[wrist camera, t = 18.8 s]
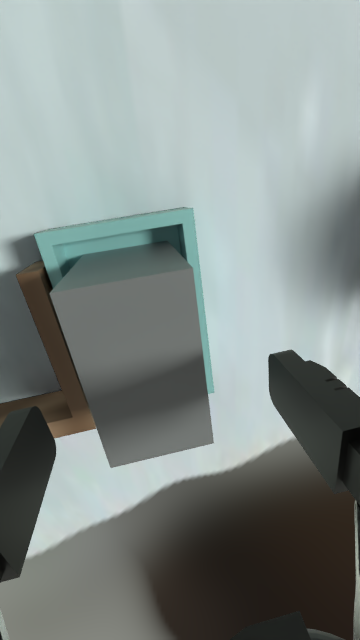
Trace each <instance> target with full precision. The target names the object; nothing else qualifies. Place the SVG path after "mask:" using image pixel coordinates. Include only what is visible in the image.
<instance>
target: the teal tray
mask: <svg viewBox="0 0 360 640" xmlns="http://www.w3.org/2000/svg"><path fill="white" fill-rule="evenodd" d="M34 236H35V239H36V242H37V244H38V247H39V250H40V253H41V256H42V259H43V262H44V264H45V267H46V270H47V273H48V276H49V279H50V281H51V284H52V287H53V289H54V288H55V286H56V285H57V284H58V283H59V282H60V281H61V280H62V278H63V277H64V276H65V275H66V274H67V273H68V272H69V271H70V269H71V268H72V267H73V266H74V265H75V264H76V263H77V262H78V260H79V259H80V258H81V257H82V256H83V255H84V254H89V253H95V252H101V251H107V250H113V249H119V248H125V247H131V246H138V245H144V244H150V243H156V242H162V241H168V242H169V243H170V244H171V245H172V246H173V247H174V248H175V249H176V251H177V252H178V253H179V254H180V255H181V256H182V257H183V258H184V259H185V260H186V261H187V262H188V263H189V264H190V265H191V266H192V267H193V272H194V280H195V289H196V297H197V306H198V314H199V323H200V331H201V340H202V348H203V357H204V365H205V374H206V382H207V391H208V394H210V393H214V386H213V377H212V369H211V360H210V351H209V342H208V334H207V325H206V316H205V308H204V299H203V290H202V282H201V273H200V264H199V255H198V247H197V238H196V229H195V221H194V212H193V208H186V207H182V208H176V209H170V210H164V211H158V212H151V213H145V214H139V215H133V216H127V217H121V218H115V219H108V220H102V221H96V222H90V223H84V224H78V225H72V226H65V227H59V228H53V229H48V230H45V231H42V232H39V233H36V234H34Z"/></svg>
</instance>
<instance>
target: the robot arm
mask: <svg viewBox="0 0 360 640" xmlns="http://www.w3.org/2000/svg"><path fill="white" fill-rule="evenodd" d="M268 362H269V392H270V396H271V400H272V402H273V404H274V406H275V408H276V409H277V411H278V412H279V414H280V415H281V416H282V418H283V419H284V421H285V422H286V424H287V425H288V427H289V428H290V430H291V431H292V433H293V434H294V435H295V437H296V438H297V440H298V441H299V443H300V444H301V446H302V447H303V449H304V450H305V452H306V453H307V455H308V456H309V457H310V459H311V460H312V462H313V463H314V465H315V466H316V468H317V469H318V471H319V472H320V473H321V475H322V476H323V478H324V479H325V481H326V482H327V484H328V485H329V487H330V488H331V489H332V491H333V493H334V494H336V493H340V492H344V491H347V490H349V491H350V492H351V494H352V496H353V497H354V498H355V547H356V596H355V607H354V640H360V397H359V396H358V395H356V394H355V393H354V392H353V391H352V390H351V389H350V388H347V387H346V385H345V384H344V383H343V382H342V381H340V380H339V379H337V377H336V376H335V375H334V374H332V373H331V372H330V371H329V370H328V369H327V368H326V367H324V366H321V365H319V364H317V363H315V362H313V361H311V360H310V361H304V360H303V359H302V358H301V357H300V356H299V355H298V354H297V353H295V352H294V351H293V350H287V351H283V352H278V353H274V354H270V355H269V360H268ZM55 457H56V444H55V440H54V437H53V435H52V433H51V431H50V429H49V427H48V425H47V423H46V421H45V419H44V417H43V414H42V412H41V410H40V409H39V408H38V407H37V406H33V407H29V408H24V409H20V410H15V411H11V412H10V413H9V414H8V415H7V417H6V418H5V420H4V422H3V424H2V425H1V427H0V582H3V581H7V580H11V579H14V578H18V577H20V574H21V571H22V567H23V564H24V560H25V557H26V554H27V551H28V547H29V544H30V541H31V537H32V534H33V531H34V527H35V524H36V521H37V517H38V514H39V511H40V507H41V504H42V501H43V497H44V494H45V491H46V487H47V484H48V481H49V477H50V474H51V471H52V467H53V464H54V461H55ZM0 640H10V639H9V636H8V633H7V630H6V626H5V623H4V620H3V616H2V613H1V610H0ZM230 640H344V639H341V638H339V637H336V636H334V635H332V634H329V633H326V632H322V631H318V630H313V629H306V626H305V624H304V621H303V619H302V616H301V614H300V611H298V612H294V613H291V614H288V615H285V616H281V617H278V618H275V619H271V620H268V621H264V622H261V623H258V624H254V625H251V626H248V627H245V628H244V629H243V630H242V631H240V632H239V633H238V634H236V635H235V636H234V637H233V638H232V639H230Z"/></svg>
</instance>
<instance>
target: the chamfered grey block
mask: <svg viewBox="0 0 360 640" xmlns="http://www.w3.org/2000/svg"><path fill="white" fill-rule="evenodd" d="M49 294H50V296H51V299H52V302H53V305H54V308H55V311H56V314H57V316H58V319H59V322H60V325H61V328H62V331H63V333H64V336H65V339H66V342H67V345H68V348H69V351H70V353H71V356H72V359H73V362H74V365H75V368H76V371H77V373H78V376H79V379H80V382H81V385H82V388H83V390H84V393H85V396H86V399H87V402H88V405H89V408H90V410H91V413H92V416H93V419H94V422H95V425H96V428H97V430H98V433H99V436H100V439H101V442H102V445H103V447H104V450H105V453H106V456H107V459H108V462H109V465H110V467H111V468H113V467H117V466H121V465H125V464H129V463H133V462H137V461H142V460H146V459H150V458H154V457H158V456H162V455H167V454H171V453H175V452H179V451H183V450H187V449H191V448H196V447H200V446H204V445H208V444H212V443H214V442H213V433H212V425H211V416H210V408H209V399H208V391H207V382H206V374H205V365H204V357H203V348H202V340H201V331H200V323H199V314H198V306H197V297H196V289H195V280H194V272H193V267H192V266H191V265H190V264H189V263H188V262H187V261H186V260H185V259H184V258H183V257H182V256H181V255H180V254H179V253H178V252H177V251H176V249H175V248H174V247H173V246H172V245H171V244H170V243H169V242H168V241H162V242H156V243H150V244H144V245H138V246H131V247H125V248H119V249H113V250H107V251H101V252H95V253H89V254H84V255H83V256H82V257H81V258H80V259H79V260H78V262H77V263H76V264H75V265H74V266H73V267H72V268H71V269H70V271H69V272H68V273H67V274H66V275H65V276H64V277H63V278H62V280H61V281H60V282H59V283H58V284H57V285H56V286H55V288H54V289H53V290H52V291H51V292H50V293H49Z"/></svg>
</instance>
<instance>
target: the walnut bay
mask: <svg viewBox="0 0 360 640" xmlns="http://www.w3.org/2000/svg"><path fill="white" fill-rule="evenodd" d="M16 277H17V279H18V282H19V284H20V287H21V289H22V292H23V294H24V297H25V299H26V302H27V304H28V307H29V309H30V312H31V314H32V317H33V319H34V322H35V324H36V327H37V329H38V332H39V334H40V337H41V339H42V342H43V344H44V347H45V349H46V352H47V354H48V357H49V359H50V362H51V364H52V367H53V369H54V372H55V374H56V377H57V379H58V382H59V384H60V387H61V389H62V391H57V392H52V393H48V394H43V395H39V396H34V397H29V398H25V399H20V400H15V401H11V402H6V403H2V404H0V427H1V425H2V424H3V422H4V420H5V418H6V417H7V415H8V414H9V413H10V412H11V411H15V410H20V409H24V408H29V407H33V406H37V407H38V408H39V409H40V410H41V412H42V414H43V417H44V419H45V421H46V423H47V425H48V427H49V429H50V431H51V433H52V435H53V437H54V438H58V437H62V436H66V435H71V434H75V433H79V432H83V431H88V430H92V429H96V425H95V422H94V419H93V416H92V413H91V410H90V408H89V405H88V402H87V399H86V396H85V393H84V390H83V388H82V385H81V382H80V379H79V376H78V373H77V371H76V368H75V365H74V362H73V359H72V356H71V353H70V351H69V348H68V345H67V342H66V339H65V336H64V333H63V331H62V328H61V325H60V322H59V319H58V316H57V314H56V311H55V308H54V305H53V302H52V299H51V296H50V294H49V293H50V292H51V291H52V290H53V287H52V284H51V281H50V279H49V276H48V273H47V270H46V267H45V264H44V262H43V261H38V262H35V263H34V264H32V265H30V266H29V267H27V268H26V269H24V270H23V271H21V272H19V273H18V274H16Z"/></svg>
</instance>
